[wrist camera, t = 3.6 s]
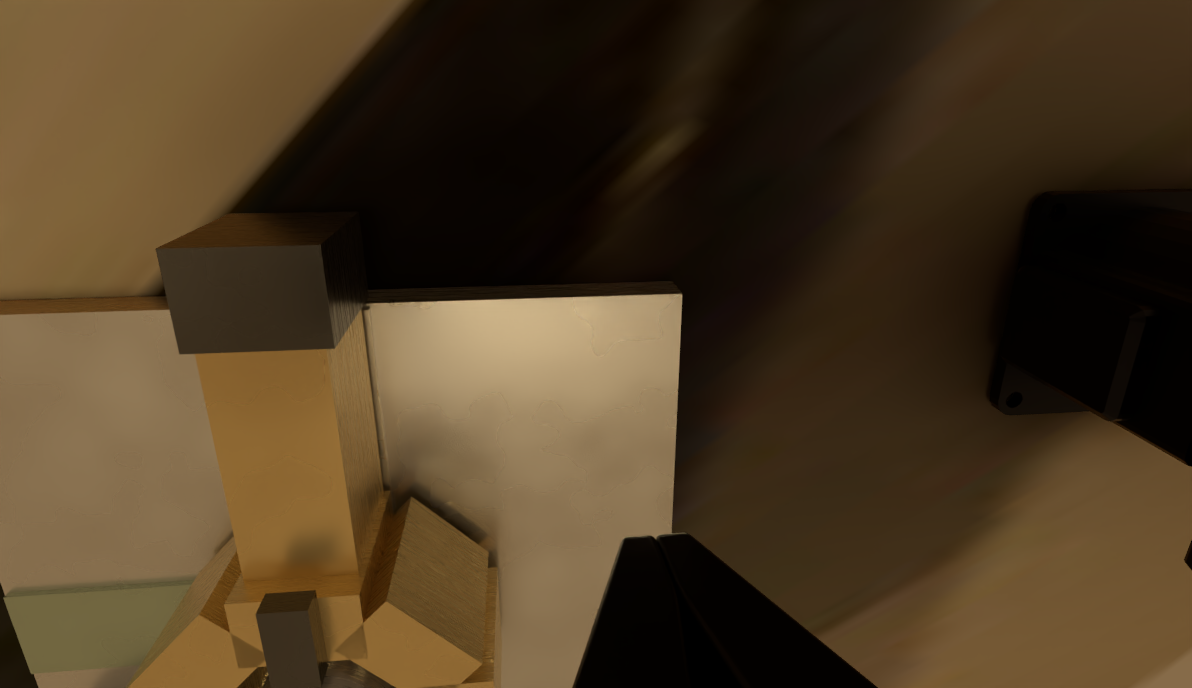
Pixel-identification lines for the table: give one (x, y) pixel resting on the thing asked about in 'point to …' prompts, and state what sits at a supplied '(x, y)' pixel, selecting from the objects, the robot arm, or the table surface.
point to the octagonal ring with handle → (308, 481)
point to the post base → (406, 450)
